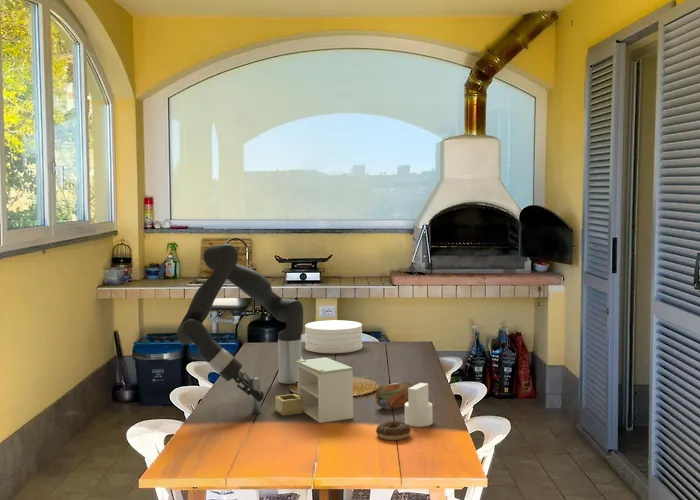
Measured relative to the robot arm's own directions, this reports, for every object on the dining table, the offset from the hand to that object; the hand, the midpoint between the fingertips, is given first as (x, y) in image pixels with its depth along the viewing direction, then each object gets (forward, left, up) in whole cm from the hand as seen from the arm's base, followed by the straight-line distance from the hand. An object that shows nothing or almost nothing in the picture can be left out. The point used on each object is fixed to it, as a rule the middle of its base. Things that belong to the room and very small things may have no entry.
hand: (261, 398), depth 259 cm
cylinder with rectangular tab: (-42, +34, -5) cm, 55 cm away
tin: (-44, +14, -5) cm, 47 cm away
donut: (-28, +43, -5) cm, 52 cm away
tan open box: (-9, +3, -5) cm, 10 cm away
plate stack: (-68, -95, -5) cm, 116 cm away
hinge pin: (+2, -1, -5) cm, 5 cm away
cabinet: (-19, +10, -5) cm, 22 cm away
